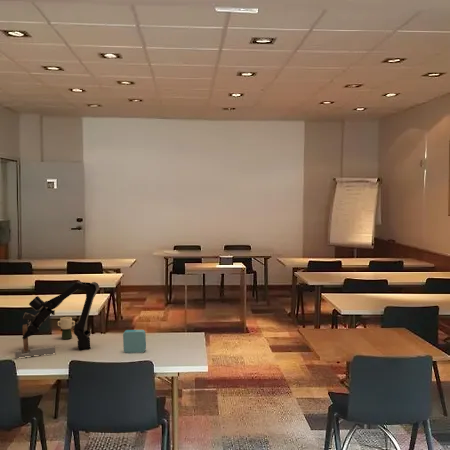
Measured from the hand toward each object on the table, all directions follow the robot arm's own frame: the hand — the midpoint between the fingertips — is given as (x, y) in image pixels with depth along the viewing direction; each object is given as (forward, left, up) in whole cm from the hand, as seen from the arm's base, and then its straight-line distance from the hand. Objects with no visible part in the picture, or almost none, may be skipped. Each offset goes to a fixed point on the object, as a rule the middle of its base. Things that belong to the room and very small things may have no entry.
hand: (22, 337), depth 311 cm
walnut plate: (-1, 0, -8) cm, 8 cm away
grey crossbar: (-6, +12, -9) cm, 16 cm away
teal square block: (-59, +27, -9) cm, 66 cm away
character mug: (-25, -20, -9) cm, 34 cm away
